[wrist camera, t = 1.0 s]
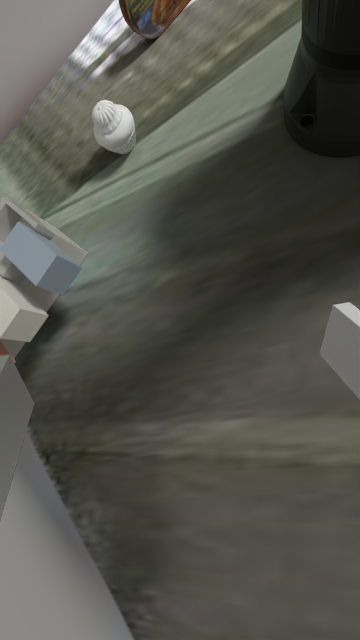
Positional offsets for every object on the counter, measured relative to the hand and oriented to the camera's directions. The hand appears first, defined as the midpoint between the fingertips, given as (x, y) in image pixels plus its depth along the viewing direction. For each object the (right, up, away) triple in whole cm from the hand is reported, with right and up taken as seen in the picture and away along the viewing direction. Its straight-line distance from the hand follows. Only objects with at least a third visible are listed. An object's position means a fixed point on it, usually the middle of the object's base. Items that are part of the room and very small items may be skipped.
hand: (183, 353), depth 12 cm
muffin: (-8, +28, +32) cm, 43 cm away
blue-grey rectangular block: (-16, +8, +24) cm, 30 cm away
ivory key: (-20, +3, +24) cm, 32 cm away
